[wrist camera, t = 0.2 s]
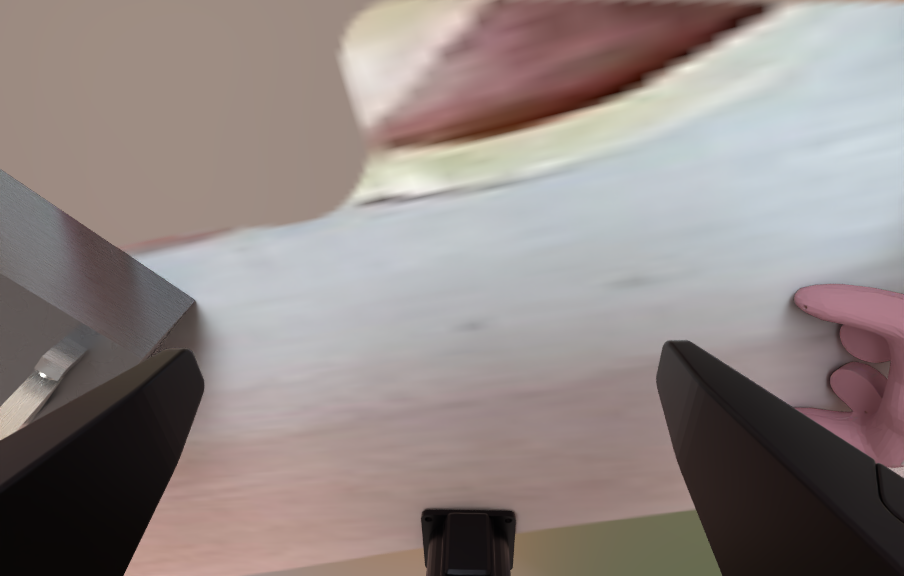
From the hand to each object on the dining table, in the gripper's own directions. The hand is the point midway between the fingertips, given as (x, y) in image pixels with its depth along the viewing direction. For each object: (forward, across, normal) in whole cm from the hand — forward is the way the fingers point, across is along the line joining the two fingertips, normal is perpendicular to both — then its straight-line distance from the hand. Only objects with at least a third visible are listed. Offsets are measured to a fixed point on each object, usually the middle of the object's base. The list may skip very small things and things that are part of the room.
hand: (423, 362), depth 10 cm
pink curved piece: (+15, -20, +12) cm, 28 cm away
